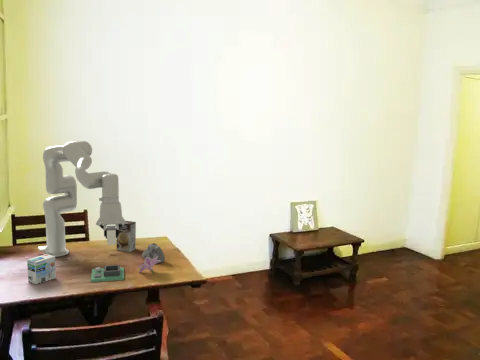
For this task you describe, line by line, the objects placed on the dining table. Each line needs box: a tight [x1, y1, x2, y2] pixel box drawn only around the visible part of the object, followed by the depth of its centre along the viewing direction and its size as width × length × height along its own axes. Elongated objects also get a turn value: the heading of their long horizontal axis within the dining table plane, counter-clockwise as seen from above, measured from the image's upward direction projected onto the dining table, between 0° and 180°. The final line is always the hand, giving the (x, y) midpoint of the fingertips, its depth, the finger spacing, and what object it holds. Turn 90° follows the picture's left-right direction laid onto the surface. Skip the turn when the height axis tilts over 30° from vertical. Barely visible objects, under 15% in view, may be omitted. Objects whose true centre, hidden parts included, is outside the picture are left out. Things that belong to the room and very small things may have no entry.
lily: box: [138, 256, 161, 276], centre depth 232 cm, size 12×12×10 cm
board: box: [90, 264, 125, 283], centre depth 228 cm, size 15×14×4 cm
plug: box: [106, 224, 117, 246], centre depth 225 cm, size 4×5×8 cm
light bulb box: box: [26, 253, 57, 285], centre depth 220 cm, size 11×7×11 cm, turn 148°
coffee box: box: [116, 220, 137, 253], centre depth 267 cm, size 9×6×16 cm
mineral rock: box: [141, 242, 166, 265], centre depth 251 cm, size 13×11×10 cm
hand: (111, 237), depth 226 cm, fingers closed on plug, 4 cm apart
